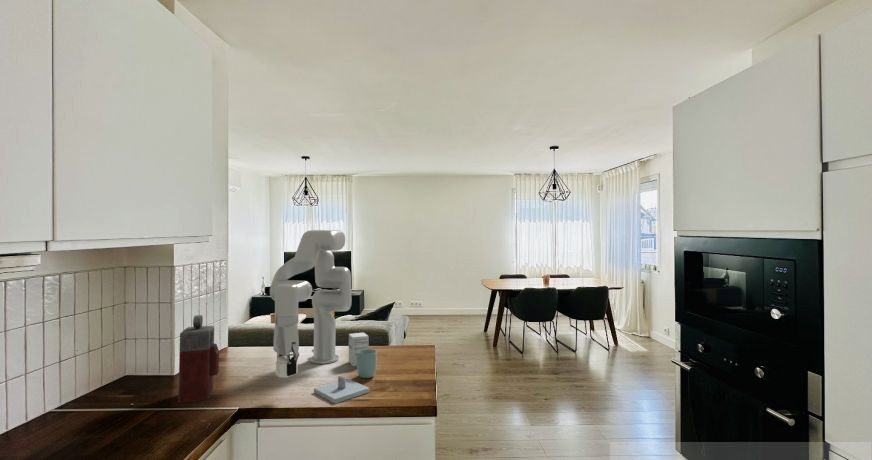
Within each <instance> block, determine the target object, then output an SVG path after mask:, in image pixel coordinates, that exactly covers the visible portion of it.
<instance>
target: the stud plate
mask: <svg viewBox="0 0 872 460" xmlns="http://www.w3.org/2000/svg"><path fill="white" fill-rule="evenodd" d="M313 393H314V394H316V395H318V396H319V397H322V398H324V399H326V400H327V401H329V402H331V403H333V404H338V403H341V402H344V401H347V400H350V399H354V398H357V397H359V396H362V395H364V394H369V393H370V387H369V386H366V385H364V384H361V383H359V382H357V381H354V380H352V379H350V378H347V377H346V375H339V376H338V377H337V381H334V382H331V383H328V384H324V385H321V386H316V387H314V388H313Z"/></svg>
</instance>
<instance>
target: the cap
mask: <svg viewBox="0 0 872 460" xmlns="http://www.w3.org/2000/svg"><path fill="white" fill-rule="evenodd" d="M292 357H293V356H290V359H291V358H292ZM287 364H288V360H287V356H280V357H278V358H277V357H276V362H275V376H276V377H278V378H289V377H293V376H296V374H294V375H290V376H287Z"/></svg>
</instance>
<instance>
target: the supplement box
mask: <svg viewBox="0 0 872 460" xmlns="http://www.w3.org/2000/svg"><path fill="white" fill-rule="evenodd" d="M369 337H370V336H369V335H368V334H366V333H365V332H354V333H349V334H348V363H350V365H351V366H352V367H357V351H359V350H363V349H369V345H370V344H369V340H370V339H369Z"/></svg>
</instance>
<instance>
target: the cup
mask: <svg viewBox="0 0 872 460" xmlns="http://www.w3.org/2000/svg"><path fill="white" fill-rule="evenodd" d="M377 357H378V351H377V349H373V348H368V349H363V350H359V351H357V366H356V373H357V375H358V376H359V377H360V378H362V379H370V378H373V377H374V376H375V374H376V372H377V364H378V363H377V362H378V358H377Z"/></svg>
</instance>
